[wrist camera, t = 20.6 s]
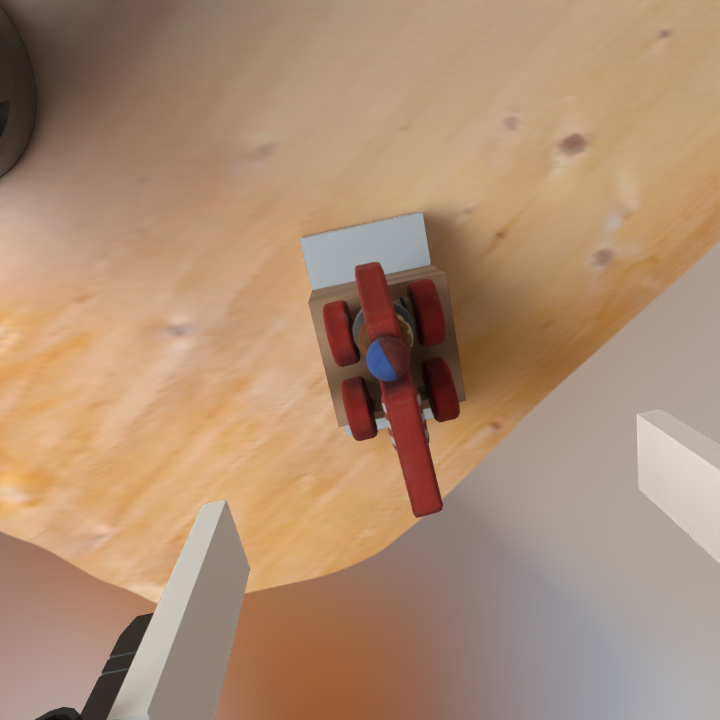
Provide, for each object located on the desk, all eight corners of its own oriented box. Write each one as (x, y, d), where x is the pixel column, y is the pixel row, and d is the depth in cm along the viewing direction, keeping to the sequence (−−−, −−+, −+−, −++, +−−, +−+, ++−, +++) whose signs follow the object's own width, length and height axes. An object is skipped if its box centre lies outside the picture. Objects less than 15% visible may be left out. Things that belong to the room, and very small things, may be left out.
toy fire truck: (421, 245, 30) (463, 262, 20) (454, 421, 33) (503, 509, 23) (313, 271, 30) (300, 300, 20) (358, 443, 34) (366, 540, 24)
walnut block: (312, 290, 35) (308, 302, 30) (431, 264, 35) (446, 272, 30) (338, 400, 38) (338, 426, 33) (449, 376, 38) (465, 400, 33)
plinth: (303, 236, 38) (299, 239, 34) (414, 212, 38) (422, 212, 34) (345, 415, 43) (346, 436, 39) (443, 395, 42) (454, 413, 39)
